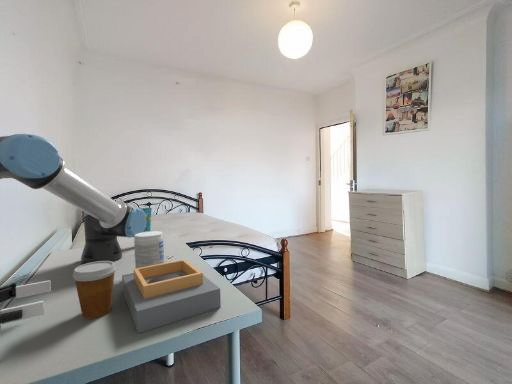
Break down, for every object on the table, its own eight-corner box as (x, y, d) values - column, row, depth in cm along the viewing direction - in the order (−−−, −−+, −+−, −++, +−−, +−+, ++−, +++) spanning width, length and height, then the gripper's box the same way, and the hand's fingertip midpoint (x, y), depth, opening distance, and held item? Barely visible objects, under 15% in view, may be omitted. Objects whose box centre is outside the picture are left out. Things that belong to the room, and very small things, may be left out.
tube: (136, 246, 131) (135, 208, 130) (138, 244, 136) (137, 207, 135) (152, 245, 133) (151, 208, 132) (153, 243, 138) (152, 207, 137)
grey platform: (121, 286, 82) (119, 262, 81) (183, 273, 93) (182, 251, 93) (138, 333, 57) (136, 297, 57) (220, 307, 68) (219, 277, 68)
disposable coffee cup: (70, 326, 60) (67, 275, 59) (79, 307, 69) (76, 263, 68) (116, 317, 64) (114, 269, 63) (119, 300, 73) (117, 258, 72)
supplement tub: (167, 275, 91) (166, 234, 90) (138, 281, 86) (136, 237, 85) (160, 267, 99) (159, 229, 98) (133, 273, 94) (131, 233, 93)
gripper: (-64, 316, 59) (53, 292, 71) (-142, 388, 39) (41, 338, 50) (-67, 283, 59) (51, 265, 71) (-147, 339, 38) (39, 300, 50)
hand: (47, 295), depth 61 cm, fingers open, 13 cm apart
